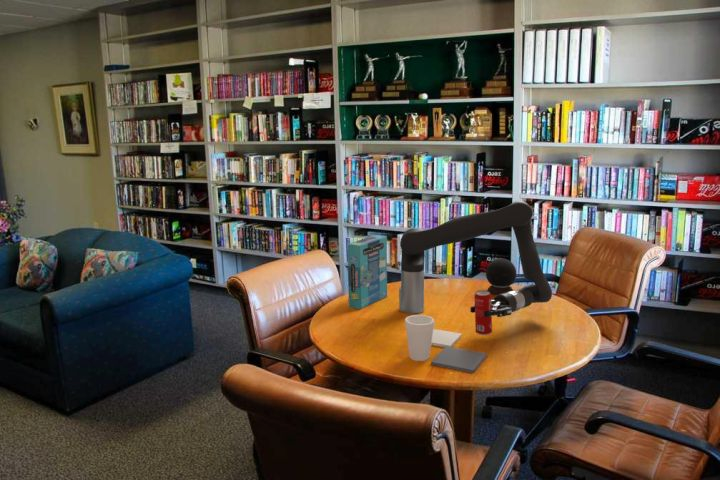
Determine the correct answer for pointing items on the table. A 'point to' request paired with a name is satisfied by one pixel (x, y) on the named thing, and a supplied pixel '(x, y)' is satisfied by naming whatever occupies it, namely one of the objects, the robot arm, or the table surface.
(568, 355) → the table surface
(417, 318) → the foam cup
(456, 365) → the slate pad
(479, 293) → the beverage can
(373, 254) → the game box
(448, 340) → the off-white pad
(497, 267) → the ball on round base
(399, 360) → the table surface
